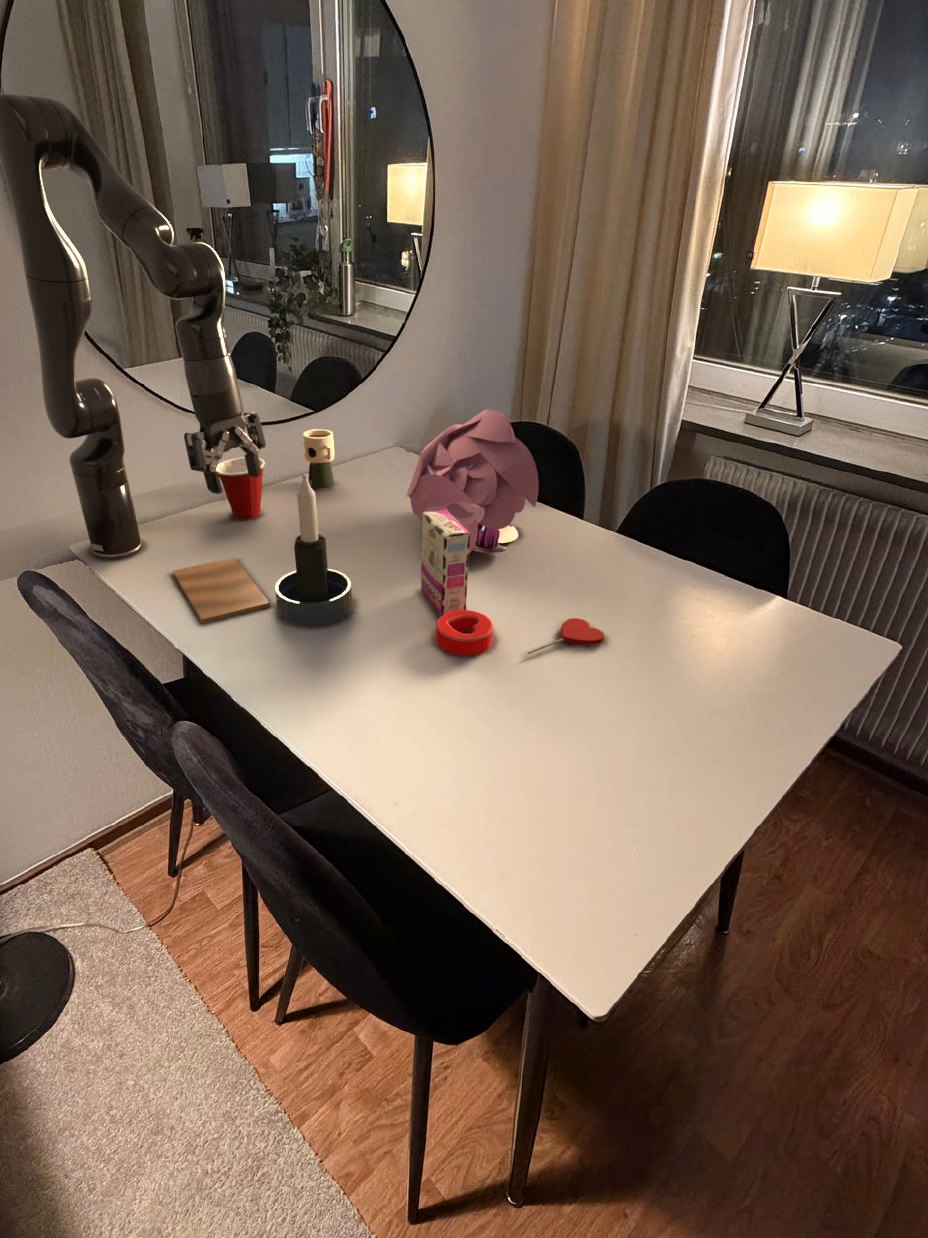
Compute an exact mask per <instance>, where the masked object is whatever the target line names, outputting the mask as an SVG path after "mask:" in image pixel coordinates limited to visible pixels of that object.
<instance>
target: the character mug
mask: <svg viewBox="0 0 928 1238" xmlns="http://www.w3.org/2000/svg"><path fill="white" fill-rule="evenodd" d="M302 436H303V437H302V439H303V442H302V443H303V446H304V458H305V461H306V462H309V464H308V465H309V466H308V482H310V487H313V488H326V487H328V486H331V485H334V483H335V479H334V473H333V468H332V464H331V461H333V460H334V459H335V442H334V432H333V431H331V430H328V429H321V428H320V429H319V428H314V429H309V430H306V431H304V432H303V434H302Z"/></svg>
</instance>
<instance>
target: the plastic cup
mask: <svg viewBox="0 0 928 1238" xmlns="http://www.w3.org/2000/svg"><path fill="white" fill-rule="evenodd" d="M259 462H260V467H261V472H260V476H258V477H252V476H250V475H249V474H248V469H247V465H246V460H245V456H244V457H236V458H229V459H227V460H224V461H223V460H222V461H221V462H218V464H217V468H216V471H218V474H219V479H220V482H221V485H222V488H223V490H224V493H225V496H226V499H227V502H228V503H229V506H230V510H231V513H232V515H233V517H234V518H235V519H238V520H244V521H245V520H246V521H247V520H253V519H256V518H258V517H260V514H261V507H262V496H263V495H262V494H263V477H264V467H265V465H266V462H265V460H264V459H262V458H259Z"/></svg>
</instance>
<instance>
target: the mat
mask: <svg viewBox="0 0 928 1238" xmlns="http://www.w3.org/2000/svg"><path fill="white" fill-rule="evenodd" d="M172 575H173V577H174V578H175V581H176V582H177V583H178V585H179V588H181V590H182V592H183V593H184V595H185V597H186V598H187V600H188V602H189V603H190V605H191V607H192V608H193V610H194V612H195V614H196V615H197V617H198V619H199V620H200V622H201V623H202V624H205V623H209V622H214V621H217V620H220V619H224V618H229V617H233V616H237V615H240V614H241V615H242V614H245V613H249V612H253V611H257V610H261V609H264V608H269V607H271V606H270V605H271V604H270V601H269V600H268V599H267V598H266V596H265V595H264V594H263V593H262V591H261V590H260V588H259V587H258V586H257V585H256V583H255V582H254V581H253V580H252V578H251V577H250V575H249V574H248V573H247V571H245V569H244V567H242V565H241V564H240V563H239V562H238V560H237V559H236V557H232V558H228V559H223V560H218V561H213V562H209V563H205V564H200V565H195V566H190V567H185V568H180V569H175V570H172Z"/></svg>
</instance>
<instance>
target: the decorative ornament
mask: <svg viewBox="0 0 928 1238" xmlns="http://www.w3.org/2000/svg"><path fill="white" fill-rule="evenodd" d="M435 627H436V628H435V631H436V632H435V642H436V644H437V646H438V647H439V648H441V649H442V650H443V651H446V652H447V653H450V654H452V655H453V654H454V655H457V656H474V655H478V654H482V653H484V652H486V651H487V650H489V649H490V647H492V644H493V637H494V623H493V622H492V620H491V619H490V618H489V617H488V616H487V615H486V614H484V613H481V612H479V611H475V610H470V609H466V610H457V611H452V612H448V613H446V614H444V615H443V616H441V617H440V616H439V618H438V619H437V620H436V626H435ZM462 632H471V633H462Z"/></svg>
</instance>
